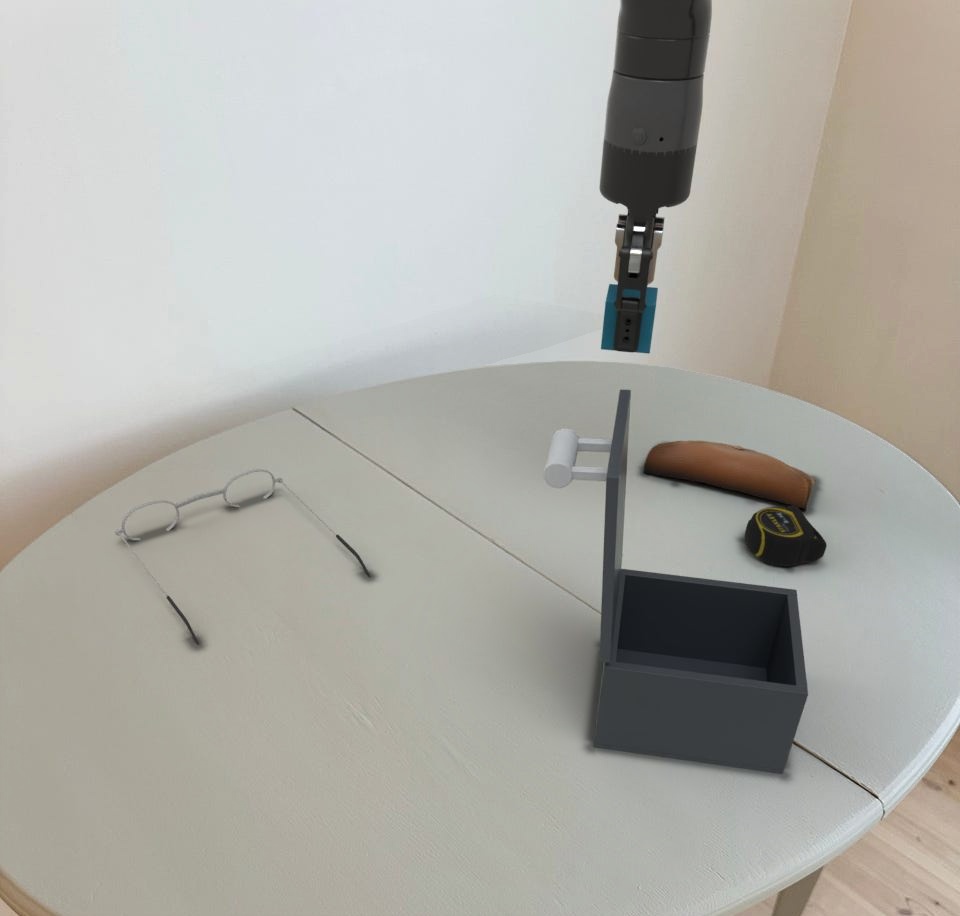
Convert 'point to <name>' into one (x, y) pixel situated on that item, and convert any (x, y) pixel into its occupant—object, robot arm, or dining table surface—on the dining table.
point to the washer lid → (564, 471)
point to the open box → (703, 672)
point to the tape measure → (783, 537)
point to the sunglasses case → (731, 470)
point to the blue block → (645, 323)
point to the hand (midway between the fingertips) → (627, 338)
